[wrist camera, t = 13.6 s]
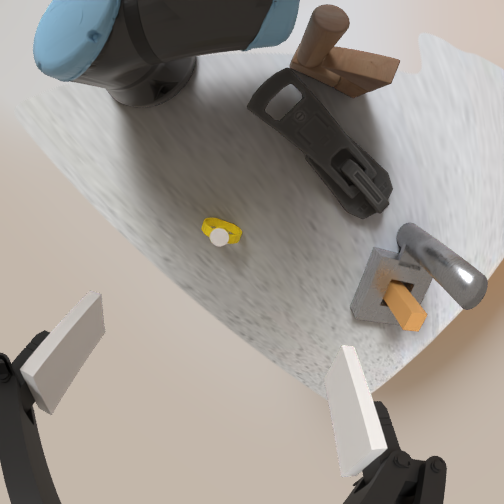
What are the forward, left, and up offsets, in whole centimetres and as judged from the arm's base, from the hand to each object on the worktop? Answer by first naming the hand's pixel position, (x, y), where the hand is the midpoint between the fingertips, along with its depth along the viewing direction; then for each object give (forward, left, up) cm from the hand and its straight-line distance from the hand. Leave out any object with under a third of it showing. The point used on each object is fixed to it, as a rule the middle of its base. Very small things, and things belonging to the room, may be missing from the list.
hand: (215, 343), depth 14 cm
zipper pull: (-11, +9, -32) cm, 35 cm away
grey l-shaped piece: (+5, +28, -32) cm, 43 cm away
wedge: (+8, +28, -32) cm, 43 cm away
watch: (+4, -3, -32) cm, 32 cm away
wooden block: (-23, +7, -32) cm, 40 cm away
